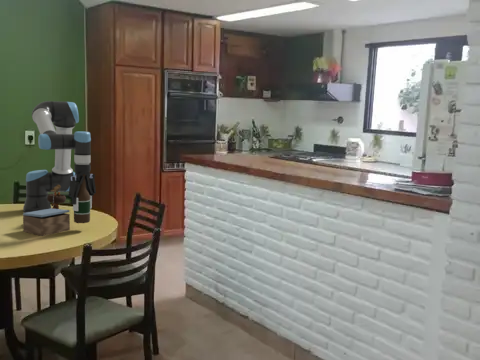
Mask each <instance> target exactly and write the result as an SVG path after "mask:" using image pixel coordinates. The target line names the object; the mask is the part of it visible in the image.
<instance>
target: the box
mask: <svg viewBox="0 0 480 360" xmlns="http://www.w3.org/2000/svg"><path fill="white" fill-rule="evenodd" d="M70 216H71V215H70V213H62V214H56V215H51V216H45V217H35V216H26V215H23V214H22V223H23V224H22V225H23V227H22V228H23V233H28V234H32V235H36V236H40V237H45V236H49V235H53V234H58V233H62V232H67V231H70V230H71V224H70V223H71V221H70V220H71V219H70Z"/></svg>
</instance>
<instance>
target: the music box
mask: <svg viewBox="0 0 480 360" xmlns="http://www.w3.org/2000/svg"><path fill="white" fill-rule="evenodd" d="M60 188H61V186H60V185H56V187H53V188H52V190H51V191H52V192H51V193H48V196H47V200H48V201H49V202H50V204H51V208H52V209H60V206H59V204H64V203H65V202H66V201H67V197H66V195H64V194H62V193H61V192H58V191H60Z"/></svg>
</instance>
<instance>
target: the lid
mask: <svg viewBox="0 0 480 360" xmlns="http://www.w3.org/2000/svg"><path fill="white" fill-rule="evenodd" d="M52 208H53V207H51V209H45V210H39V211H33V212H23V213H22V216H23V215H26V216H35V217H45V216H51V215H56V214H62V213H66V214H68V213H70V211H71V210H70V209H62V208H59V209H52Z"/></svg>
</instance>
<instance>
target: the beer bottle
mask: <svg viewBox="0 0 480 360" xmlns="http://www.w3.org/2000/svg"><path fill="white" fill-rule="evenodd" d="M82 176H84V180H83V182H82V184H81V186H80V189H79V192H78V195H77V198H78V211H73V222H74V223H76V224H86V223H89V222H90V221H91V209H90V195H89V193H88V191H87V189H86V182H85V174H83V175H82Z"/></svg>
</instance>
